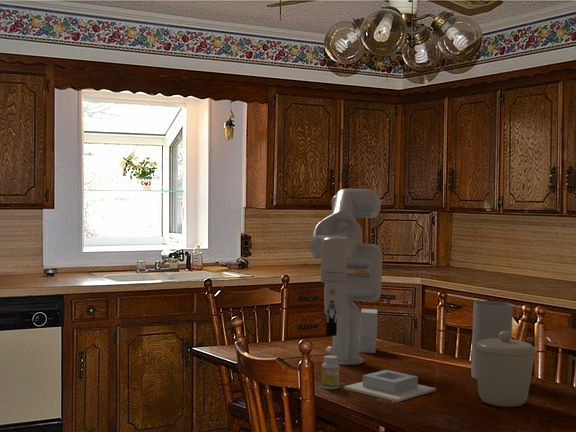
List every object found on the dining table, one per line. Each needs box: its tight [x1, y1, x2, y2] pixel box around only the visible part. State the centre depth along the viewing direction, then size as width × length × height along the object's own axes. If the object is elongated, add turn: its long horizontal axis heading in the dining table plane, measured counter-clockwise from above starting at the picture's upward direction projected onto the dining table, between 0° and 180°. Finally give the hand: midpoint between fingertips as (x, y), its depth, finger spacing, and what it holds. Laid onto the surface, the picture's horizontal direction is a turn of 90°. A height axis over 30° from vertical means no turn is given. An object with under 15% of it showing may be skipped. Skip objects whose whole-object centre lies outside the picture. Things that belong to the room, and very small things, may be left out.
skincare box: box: [359, 308, 379, 354], centre depth 303 cm, size 8×7×16 cm
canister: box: [473, 331, 538, 408], centre depth 231 cm, size 18×18×21 cm
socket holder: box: [343, 369, 437, 403], centre depth 243 cm, size 20×20×4 cm
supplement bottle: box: [320, 354, 340, 390], centre depth 244 cm, size 5×5×10 cm
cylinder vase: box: [470, 300, 514, 381], centre depth 261 cm, size 12×12×25 cm
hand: (331, 333), depth 243 cm, fingers open, 9 cm apart
